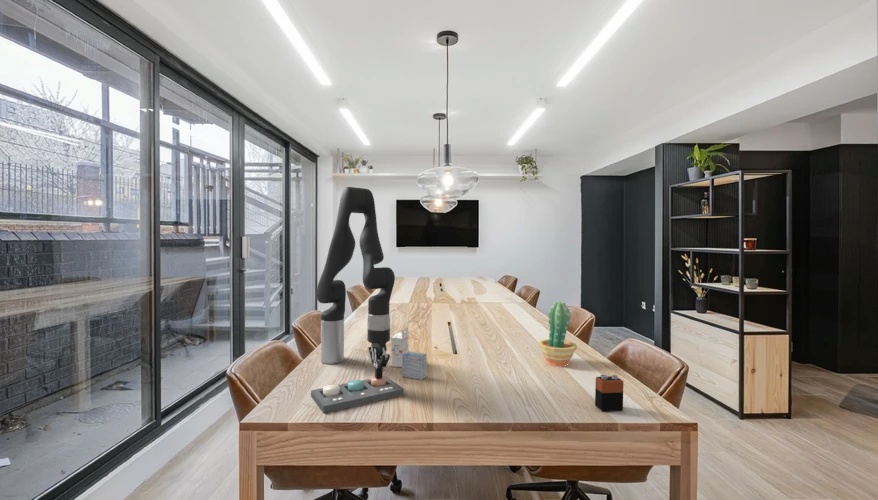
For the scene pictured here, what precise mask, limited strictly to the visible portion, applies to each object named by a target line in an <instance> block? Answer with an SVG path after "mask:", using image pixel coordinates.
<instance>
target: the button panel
mask: <svg viewBox="0 0 878 500" xmlns="http://www.w3.org/2000/svg"><path fill="white" fill-rule="evenodd" d="M384 376H385V377H386V385H383V386H379V387H372V386H371V378H368V379H363V380H362V379H361V381H363V382H364V390H359V391H355V392H349V391H348V382H347V383H342V384H341V383H340V384H337V385H338V386H339V387H340V395H335V396H330V397H326V398H324V397H323V387H321V388H317V389H311V390H310V397H311V399H312V400H313V401H314V402H315V404H316V406H318V408H319V409H320V411H321V412H322V413H323V414H326V413H330V412H335V411H338V410H344V409H347V408H352V407H356V406H361V405H364V404H370V403H374V402H378V401H382V400H383V401H384V400H387V399H392V398H397V397H400V396H401V397H402V396H404V395H405V388H403V386H401V385H400V384H398V383H397V382H395V381H394V380H393V379H391V378H390V377H388V376H387V375H384Z"/></svg>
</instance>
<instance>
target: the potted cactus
mask: <svg viewBox="0 0 878 500" xmlns="http://www.w3.org/2000/svg"><path fill="white" fill-rule="evenodd" d="M547 314H548V316H547V317H548V319H547V323H548V326H549V334H548V335H549V336H548V339H541V340H539V341H538V346H539V348H540V349H541V352H542V355H543V357H544V358H545V363H546V364H547V363H548V364H547V365H549V364H550V365H549V366H552V365H555V366H554V367H559V366H563V367H566V366H565V365H567V364H569V362H570V360H571V359H572V357H573V355H574V353H575V351H576V350H577V349H578V346H577V343H575V342H572V341H569V340H565V338H566V334H567V331H568V327H569V326H570V324H571V323H570V322H571V316H572V315H571V310H570V309H569V307H568V305H567V304H566V303H565V302H561V301H559V302H557V301H555V302H554V303H553V304H552V306H551V307H550V308H549V310H548V313H547ZM567 366H568V365H567Z"/></svg>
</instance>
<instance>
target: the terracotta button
mask: <svg viewBox="0 0 878 500" xmlns="http://www.w3.org/2000/svg"><path fill="white" fill-rule="evenodd" d="M385 376H386V375H383V378H382V379H376V378H375V375H374V376H372V377H370V379H371V386H372V387H379V386H383V385H386V377H385Z"/></svg>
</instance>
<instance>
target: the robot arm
mask: <svg viewBox="0 0 878 500" xmlns="http://www.w3.org/2000/svg"><path fill="white" fill-rule="evenodd" d="M375 203H376V202H375V199H374V195H373V193H372V191H371V190H370V189H368V188H364V187H363V188H362V187H355V186H347V187H345V188H343V190H342V192H341V195H340V200H339V205H338V209H337V210H338V211H337V217H336V222H335V227H334V230H333V234H332V237H331V240H330V244H329V248H328V253H327V256H326V260H325V264H324V266H323V267H324V268H323V270H322V273H321V275H320V277H319V281H318V284H317V288H316V294H315V295H316V299H317V302H318V303H320V304H332V305H331V306H330V307H329V308H328V309H326V310H324V311H322V312H321V314H320V363H323V364H327V365H329V364H330V365H331V364H339V363H342V362H343V361H344V360H345V313H346V297H347V288H346V287H347V286H346V284H345V282H344V280H341V279H335V278H336V276H337V275H338V274H339V273H340V272H341V271H342V270H343V269H344V268H345V267H346V266H347V265H348V264H349V263H350V262H351V260H352V258H353V255H354V252H355V248H356V239H355V235H354V234H353V231H352V229H351V226H350V217H351V214H352V213H353V214H363V216H364V220H365V222H364V225H363V228H362V230H361V233H360V236H359V247H360V252H361V256H362V261H363V263H362V264H363V265H362V267H363V269H362V271H363V272H362V283H363V284H364V286H365V288H366V289H368V290H379V289H380V290H379V292H378V293H376V294H375V295H372V296H370V297H369V298H368V301H367V302H368V304H367V305H368V307H367V309H368V311H367V313H368V314H367V335H366V336H367V342H368V343H370V344H371V346H369V347H368V348H367V349H368V352H369V357H370V361H371V364H372V365H373V367H374V376H375V378H376V379H382V378H383V376H384V373H383V372H384V371H383V370H384V368H386V367H387V365H388V362H389V360H390V358H391V355H390V353H389V354H388V353H387V343H388V342H390V341H391V316H390V301H391V297H392V293H393V290H394V286H395V281H396V277H395V276H396V274H395V272H394V270H393V269H392V268H390V267H386V266H385V267H375V265H378V264H380V263H382V262H383V261H384V256H385V255H384V252H383V248H382V244H381V240H380V237H379V230H378V221H377V212H376V204H375Z"/></svg>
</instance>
